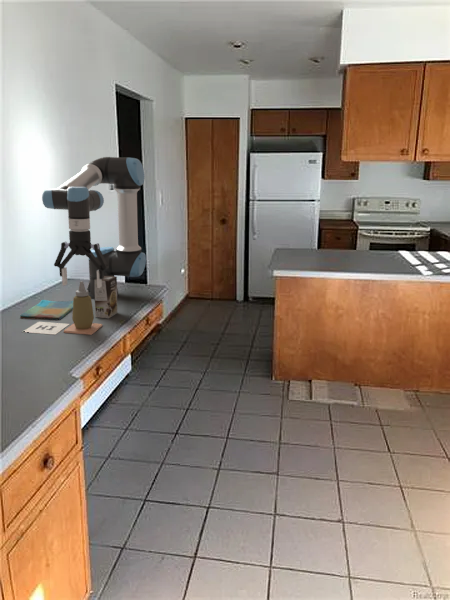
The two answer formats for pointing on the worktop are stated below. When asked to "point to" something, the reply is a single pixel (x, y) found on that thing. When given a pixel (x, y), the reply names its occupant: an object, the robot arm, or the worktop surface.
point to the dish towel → (49, 310)
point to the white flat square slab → (46, 328)
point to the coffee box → (106, 297)
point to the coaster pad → (83, 331)
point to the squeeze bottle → (82, 308)
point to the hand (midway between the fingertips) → (82, 286)
